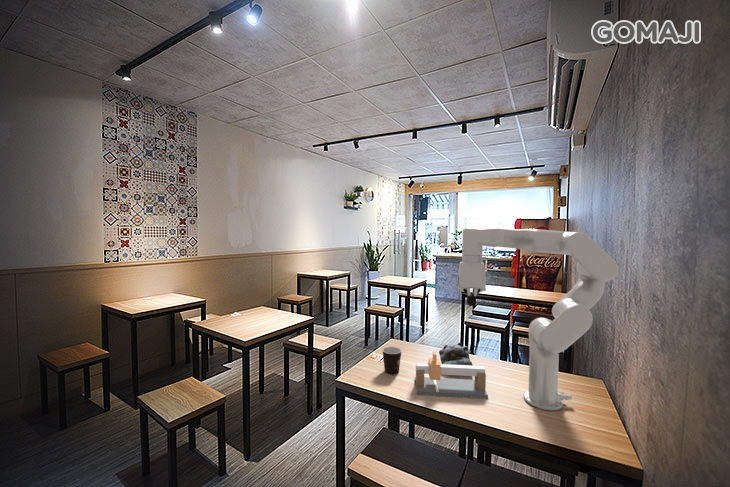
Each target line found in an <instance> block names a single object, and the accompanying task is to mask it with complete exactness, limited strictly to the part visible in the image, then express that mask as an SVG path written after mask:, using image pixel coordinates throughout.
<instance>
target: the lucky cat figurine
mask: <svg viewBox="0 0 730 487" xmlns="http://www.w3.org/2000/svg"><path fill="white" fill-rule="evenodd" d="M469 353H470V352H469V347H468V346H466V345H464V346H463V343H462V342H458V343H457V344H450V345H448V344H445V345H444V346H443V348H442V349H440V350H438V354H439V361H440V364H450V365H472V366H474V364H473V362H472V360H471V359H470V354H469Z"/></svg>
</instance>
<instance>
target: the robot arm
mask: <svg viewBox="0 0 730 487" xmlns="http://www.w3.org/2000/svg"><path fill="white" fill-rule="evenodd" d="M461 246H462V249H461V251H462V252H461V253H462V254H461V261H460V262H459V265H458V271H457V285H458V286H457V290H458V291H460V292H463V293H464V294H466V303H467V304H468V306H470V307H475V304H476V299H477V296H478V295H479V294H480V293H481V292H486V291H487V289H486V288H487V287H486V286H487V285H486V284H487V278H486V277H487V276H486V268H485V267H486V266H485V262H484V261H485V260H487V256H484V255H483V248H484V247H490V248H497V247H499V248H510V249H517V250H520V251H521V250H522V251H526V252H534V253H544V254H552V255H553V254H555V255H563V256H564V255H566V256H571V257H573V259H574V260H575V261H576V262H577V263H576V270H577V282H576V283H575V285H574V286H572V288H571V289H570V290H569V291H568V292H567V293H566V294H564V295H563V296H562V297H561V298H560V299H559V300H558V301H557V302H556V303H554V304H553V306H552V308H551V313H552V316H553V317H554V319H553V320H552V319H549V318H546V317H536V318H535V319H533V320H532V321H530V324H529V326H528V341H529V361H528V363H529V364H528V390H527V391H525V392H524V393H523V398H524V400H525V402H526V403H527V404H528V405H531V406H533V407H535V408H538V409H541V410H545V411H551V412H552V411H553V412H554V411H560V410H561V409H562V408H563V400H564V401H572V400H573V399H572V395H571V394H568V393H566V394H565V393H564V391H558V390H559V389H558V388H559V363H560V362H559V361H560V360H559V358H560V357H559V356H560V355H559V353H562V352H564V351H566V350H567V349H568V348H569V347H570V346H572V345H573V344H574V343H575V342H576V341H578V340H579V339H580V338H581V337H583V335H585V334H586V333H587V332H588V331H589V329H590V328H591V326H592V325H593V321H594V318H593V314H592V311H591V309H592V308H593V307H594V306H595V305H596V304H597V303H598V301H599V300H600V299H601V298H602V297H603V294H604V292H605V287H606V286H605V282H606V283H607V282H610V281H612V280H614V279H615V278H616V277H617V276H618V274H619V267H618V264H617V263H616V261H615V260H614V258H613V257H611V256H610V254H608V252H606V251H605V250H604V249H603V248H602V247H601V246H600V245H599V244H598V243H597V242H596V241H595V240H594V239H592V237H590V236H589V235H588V234H586V233H585V232H581V231H563V230H561V231H560V230H550V229H549V230H548V229H535V228H533V229H532V228H529V229H528V228H525V229H513V228H512V229H509V228H500V227H496V226H494V227H488V228H487V227H485V228H480V227H466V228H463V230H462V245H461ZM483 246H484V247H483ZM471 289H472V291H471Z"/></svg>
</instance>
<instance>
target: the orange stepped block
mask: <svg viewBox="0 0 730 487" xmlns="http://www.w3.org/2000/svg"><path fill="white" fill-rule="evenodd" d="M437 355H438V354H437V352H436V351H432V358H429V357H428V363H429V364H430V374H428V376H429V378H430V380H440V378H441V374H440V369H441V365H440V364H441V361H440V358H437Z"/></svg>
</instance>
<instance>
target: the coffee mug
mask: <svg viewBox="0 0 730 487" xmlns="http://www.w3.org/2000/svg"><path fill="white" fill-rule="evenodd" d="M382 357H383V369H384V373H385V374H387V375H388V376H389V375H390V376H396V375H398V374H399V372H400V367H401V366H400V364H401V357H402V349H401V348H399V347H397V346H396V347H395V346H386V347H384V348H382Z"/></svg>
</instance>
